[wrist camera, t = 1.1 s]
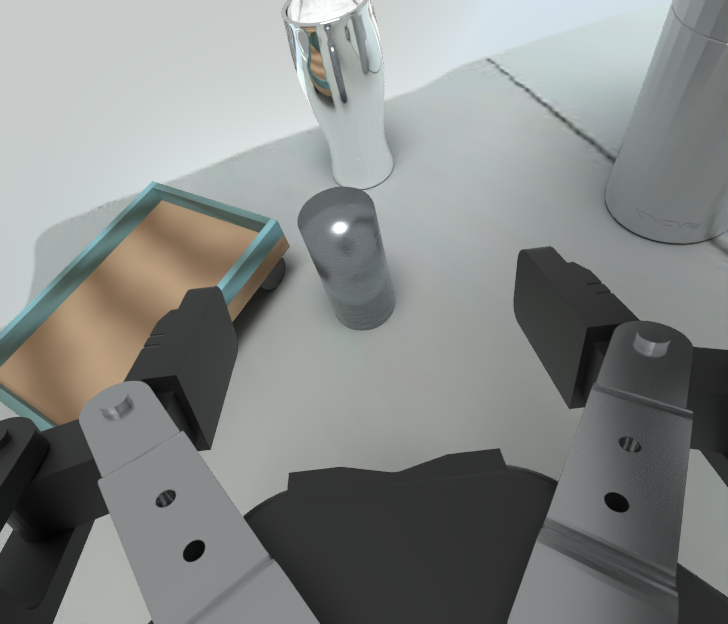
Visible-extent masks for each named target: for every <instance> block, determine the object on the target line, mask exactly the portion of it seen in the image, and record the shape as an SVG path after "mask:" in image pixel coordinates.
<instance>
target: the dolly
mask: <svg viewBox="0 0 728 624" xmlns="http://www.w3.org/2000/svg"><path fill="white" fill-rule="evenodd" d="M289 247H290V246H289V244H288V242H287V240H286V238H285V236H284V233H283V231H282V229H281V227H280V225H279V223H278V221H277V220H274V219H271V218H268V217H265V216H261V215H258V214H255V213H252V212H249V211H245V210H242V209H239V208H236V207H233V206H229V205H226V204H223V203H220V202H217V201H214V200H210V199H207V198H204V197H201V196H198V195H194V194H191V193H188V192H185V191H182V190H178V189H175V188H172V187H169V186H166V185H162V184H159V183H156V182H153V181H152V182H151V183H150V184H149V185H148V186H147V187H146V188H145V189H144V190H143V191H142V192H141V193H140V194H139V195H138V196H137V197H136V198H135V199H134V200H133V201H132V202H131V203H130V204H129V205H128V206H127V207H126V208H125V209H124V210H123V211H122V212H121V213H120V214H119V215H118V216H117V217H116V218H115V219H114V220H113V221H112V222H111V223H110V224H109V225H108V226H107V227H106V228H105V229H104V230H103V231H102V232H101V233H100V234H99V235H98V236H97V237H96V238H95V239H94V240H93V241H92V242H91V243H90V244H89V245H88V246H87V247H86V248H85V249H84V250H83V251H82V252H81V253H80V254H79V255H78V256H77V257H76V258H75V259H74V260H73V261H72V262H71V263H70V264H69V265H68V266H67V267H66V268H65V269H64V270H63V271H62V272H61V273H60V274H59V275H58V276H57V277H56V278H55V279H54V280H53V281H52V282H51V283H50V284H49V285H48V286H47V287H46V288H45V289H44V290H43V291H42V292H41V293H40V294H39V295H38V296H37V297H36V298H35V299H34V300H33V301H32V302H31V303H30V304H29V305H28V306H27V307H26V308H25V309H24V310H23V311H22V312H21V313H20V314H19V315H18V316H17V317H16V318H15V319H14V320H13V321H12V322H11V323H10V324H8V325H7V326H6V327H5V328H4V329H3V330H2V331H1V332H0V401H1V402H2V403H3V404H5V405H6V406H7V407H9V408H10V409H11V410H13V411H14V412H15V413H17V414H18V415H19V416H21V417H26V418H29V419H31V420H32V421H33V422H34V423H35V425H36V426H37V427H38V429H39V430H40V431H44V430H47V429H50V428H53V427H56V426H59V425H62V424H65V423H68V422H71V421H74V420H77V419H79V415H80V412H81V410H82V409H83V407H84V406H85V404H86V403H87V402H88V401H89V400H90V399H91V398H92V397H94V396H95V395H96V394H98V393H99V392H101V391H102V390H104V389H106V388H108V387H110V386H113V385H115V384H118V383H122V382H123V381H124V380H125V378H126V376H127V374H128V373H129V371H130V369H131V367H132V365H133V364H134V362H135V360H136V358H137V357H138V355H139V353H140V351H141V350H142V349H143V348H144V344H145V342H146V341H147V339H148V338H150V334H151V332H152V330H153V328H154V327H155V325H156V323H157V322H158V321H159V320H160V319H161V318H162V317H163V316H165V315H166V314H167V313H168V312H169V311H170V310H173V309H178V308H179V306H180V304H181V302H182V300H183V298H184V296H185V294H186V292H187V291H188V290H189V289H195V288H204V287H212V286H218V287H219V288H220V289H221V291H222V293H223V296H224V299H225V302H226V305H227V308H228V311H229V314H230V317H231V320H232V322H233V321H234V320H235V318H236V317H237V316H238V314H239V313H240V312H241V310H242V309H243V308H244V306H245V305H246V304H247V302H248V301H249V300H250V298H251V297H252V296H253V294H254V293H255V292H256V290H257V289H258V288H259V287H262V288H265V289H267V290H271V289H274V288H275V287H277V286H278V285H279V283H280V282H281V280H282V278H283V276H284V272H285V262H284V259H283V258H282V256H283V255H284V253H285V252H286V251H287V249H288V248H289Z"/></svg>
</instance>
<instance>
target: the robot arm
mask: <svg viewBox="0 0 728 624" xmlns="http://www.w3.org/2000/svg"><path fill="white" fill-rule="evenodd" d="M605 200H606V204H607V207H608V209H609V211H610V212H611V214H612V216H613V217H614V218H615V219H616V220H617V221H618V222H619V223H620V224H622V225H623V226H624V227H626V228H627V229H629V230H630V231H632V232H634V233H636V234H639V235H641V236H643V237H646V238H649V239H653V240H656V241H661V242H668V243H694V242H701V241H704V240H708V239H711V238H714V237H716V236H718V235H720V234H722V233H724V232H725V231H726V230H727V229H728V0H673V1H672V4H671V7H670V9H669V12H668V15H667V18H666V21H665V23H664V26H663V29H662V32H661V35H660V38H659V40H658V43H657V46H656V49H655V52H654V55H653V57H652V60H651V63H650V66H649V69H648V72H647V74H646V77H645V80H644V83H643V86H642V88H641V91H640V94H639V97H638V100H637V103H636V105H635V108H634V111H633V114H632V117H631V120H630V122H629V125H628V128H627V131H626V134H625V137H624V139H623V142H622V145H621V147H620V150H619V153H618V156H617V159H616V162H615V164H614V167H613V170H612V173H611V176H610V179H609V182H608V184H607V187H606V190H605ZM514 312H515V316H516V319H517V322H518V324H519V325H520V327H521V329H522V330H523V332H524V334H525V335H526V337H527V339H528V340H529V342H530V344H531V345H532V347H533V349H534V350H535V352H536V354H537V356H538V357H539V359H540V361H541V362H542V364H543V366H544V367H545V369H546V371H547V372H548V374H549V376H550V377H551V379H552V381H553V382H554V384H555V386H556V387H557V389H558V391H559V392H560V394H561V396H562V398H563V399H564V401H565V403H566V404H567V406H568V408H569V409H573V408H582V407H585V409H584V412H583V414H582V417H581V420H580V423H579V426H578V429H577V431H576V434H575V437H574V440H573V443H572V446H571V449H570V451H569V454H568V457H567V460H566V463H565V466H564V468H563V471H562V474H561V477H560V480H559V482H558V481H556V480H554V479H552V478H550V477H548V476H545V475H543V474H541V473H538V472H535V471H532V470H529V469H525V468H521V467H516V466H511V465H506V464H505V462H504V459H503V456H502V454H501V451H500V448H499V449H490V450H481V451H473V452H464V453H456V454H447V455H445V456H442V457H439V458H436V459H434V460H431V461H428V462H425V463H422V464H420V465H417V466H414V467H411V468H408V469H406V470H403V471H400V472H394V473H393V472H382V471H373V470H364V469H355V468H346V467H335V468H327V469H318V470H310V471H301V472H292V473H289V480H288V490H286V491H284V492H281V493H279V494H277V495H275V496H273V497H271V498H269V499H267V500H265V501H264V502H262V503H260V504H259V505H257V506H256V507H254V508H253V509H252V510H250V511H249V512H248V513H247V514H245V515H244V516H242V515H241V514H240V512H239V511H238V509H237V508H236V506H235V505H234V503H233V502H232V500H231V499H230V498H229V496H228V495H227V493H226V492H225V490H224V489H223V487H222V486H221V485H220V483H219V482H218V480H217V479H216V477H215V476H214V474H213V473H212V471H211V470H210V469H209V467H208V466H207V464H206V463H205V461H204V460H203V458H202V457H201V455H200V454H199V453H198V451H203V450H211V447H212V443H213V439H214V436H215V432H216V429H217V425H218V421H219V418H220V414H221V411H222V407H223V403H224V400H225V396H226V393H227V389H228V385H229V382H230V378H231V375H232V371H233V367H234V364H235V360H236V357H237V351H238V344H237V336H236V332H235V329H234V326H233V323H232V320H231V317H230V314H229V311H228V308H227V305H226V302H225V299H224V296H223V293H222V291H221V289H220V288H219V287H218V286H212V287H204V288H195V289H189V290H188V291H187V292H186V294H185V296H184V298H183V300H182V302H181V304H180V306H179V308H178V309H173V310H170V311H169V312H168V313H167V314H166V315H165V316H163V317H162V318H161V319H160V320H159V321H158V322H157V323H156V325H155V327H154V328H153V330H152V332H151V334H150V338H148V339H147V341H146V342H145V344H144V348H143V349H142V350H141V351H140V353H139V355H138V357H137V358H136V360H135V362H134V364H133V365H132V367H131V369H130V371H129V373H128V374H127V376H126V378H125V380H124V381H123V382H122V383H118V384H115V385H113V386H110V387H108V388H106V389H104V390H102V391H101V392H99V393H98V394H96V395H95V396H94V397H92V398H91V399H90V400H89V401H88V402H87V403H86V404H85V406H84V407H83V409H82V410H81V412H80V415H79V419H77V420H74V421H71V422H68V423H65V424H62V425H59V426H56V427H53V428H50V429H47V430H44V431H40V430H39V429H38V427H37V426H36V425H35V423H34V422H33V421H32V420H31V419H29V418H26V417H13V418H8V419H5V420H1V421H0V532H1V530H2V529H3V527H4V525H5V523H6V522H7V523H8V524H9V525H10V526H11V527H12V528H13V531H12V533H11V535H10V537H9V538H8V540H7V542H6V544H5V546H4V547H3V549H2V551H1V553H0V624H53V622H54V619H55V617H56V614H57V612H58V609H59V607H60V604H61V602H62V599H63V597H64V595H65V592H66V590H67V587H68V585H69V582H70V580H71V577H72V575H73V572H74V570H75V567H76V565H77V563H78V560H79V558H80V555H81V553H82V550H83V548H84V545H85V543H86V540H87V538H88V535H89V533H90V531H91V528H92V526H93V523H94V521H95V519H97V518H99V517H102V516H104V515H107V514H109V513H110V515H111V518H112V520H113V523H114V525H115V528H116V530H117V533H118V535H119V538H120V540H121V543H122V545H123V548H124V550H125V553H126V555H127V558H128V560H129V563H130V565H131V568H132V570H133V573H134V575H135V578H136V580H137V583H138V585H139V588H140V590H141V593H142V595H143V598H144V601H145V603H146V606H147V608H148V611H149V613H150V616H151V618H152V620H151V621H150V622H149V623H148V624H728V597H727V596H725V595H724V594H722V593H721V592H719V591H718V590H716V589H715V588H714V587H712V586H711V585H709V584H708V583H706V582H705V581H703V580H702V579H701V578H699V577H698V576H696V575H695V574H693V573H692V572H690V571H689V570H688V569H686V568H685V567H683V566H682V565H680V564H679V563H677V559H678V550H679V541H680V532H681V523H682V514H683V505H684V495H685V486H686V477H687V468H688V459H689V450H690V449H697V450H700V451H701V452H702V454H703V455H704V456H705V458H706V459H707V460H708V462H709V463H710V464H711V466H712V467H713V468H714V469H715V471H716V472H717V473H718V475H719V476H720V477H721V479H722V480H723V481H724V483H725V484H726V485H727V487H728V350H722V349H710V348H699V347H693V346H692V343H691V342H690V340H689V339H688V338H687V337H686V336H685V335H683V334H682V333H681V332H679V331H677V330H675V329H673V328H671V327H669V326H666V325H663V324H659V323H655V322H649V321H640V320H639V319H638V318H637V317H636V316H635V315H634V314H633V313H632V312H631V311H630V310H629V309H628V308H627V307H626V306H625V305H624V304H623V303H622V302H621V301H620V300H619V299H618V298H617V297H616V296H615V295H614V294H613V293H611V292H610V290H609V289H608V288H607V287H606V286H605V285H604V284H602V283H601V281H600V280H599V279H598V278H597V277H596V276H595V275H594V274H593V273H592V272H591V271H590V270H588V269H586V268H584V267H582V266H580V265H578V264H576V263H574V262H570V263H567V262H566V261H565V260H564V259H563V258H562V257H561V256H560V255H559V254H558V253H557V251H556V250H555V249H554V248H553V247H551V246H548V247H540V248H532V249H524V250H521V251H520V253H519V255H518V261H517V271H516V281H515V291H514Z"/></svg>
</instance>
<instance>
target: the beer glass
mask: <svg viewBox="0 0 728 624" xmlns="http://www.w3.org/2000/svg"><path fill="white" fill-rule="evenodd" d="M281 13H282V18H283V20H284V25H285V28H286V33H287V38H288V42H289V47H290V51H291V55H292V59H293V62H294V66H295V69H296V73H297V76H298V79H299V82H300V84H301V87H302V90H303V92H304V94H305V97H306V99H307V101H308V103H309V105H310V107H311V109H312V111H313V113H314V115H315V117H316V119H317V121H318V123H319V125H320V127H321V129H322V131H323V133H324V135H325V137H326V139H327V142H328V145H329V148H330V152H331V161H332V172H333V176H334V179H335V180H336V182H337V183H338V184H339V185H341V186H343V187H353V188H357V189H367V188H371V187H373V186H376V185H378V184H380V183H381V182H383V181H384V180H385V179H386V178H387V177H388V176H389V175H390V173H391V172H392V169H393V164H394V163H393V157H392V154H391V152H390V149H389V147H388V144H387V141H386V138H385V133H384V64H383V56H382V47H381V41H380V35H379V30H378V26H377V21H376V16H375V12H374V8H373V3H372V0H288V1H287V2H286V3H285V4H284V6H283V8H282V12H281Z"/></svg>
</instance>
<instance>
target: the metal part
mask: <svg viewBox="0 0 728 624" xmlns="http://www.w3.org/2000/svg"><path fill="white" fill-rule="evenodd" d="M298 227H299V230H300V232H301V235H302V237H303V239H304V242H305V244H306V246H307V248H308V251H309V253H310V255H311V258H312V260H313V262H314V264H315V267H316V269H317V271H318V274H319V276H320V278H321V280H322V283H323V285H324V287H325V290H326V292H327V294H328V296H329V299H330V301H331V303H332V306H333V308H334V310H335V312H336V315H337V317H338V319H339V320H340V321H341V323H343V324H344V325H345V326H347V327H349V328H351V329H354V330H369V329H373V328H375V327H378V326H380V325H381V324H383V323H384V322H385V321H386V320H387V319H388V318H389V317H390V316H391V314H392V312H393V310H394V306H395V298H394V293H393V289H392V284H391V280H390V275H389V271H388V266H387V261H386V257H385V252H384V248H383V243H382V239H381V234H380V230H379V225H378V221H377V216H376V211H375V207H374V203H373V201H372V199H371V198H370V196H369V195H368V194H367V193H365V192H364V191H362V190H360V189H357V188H353V187H335V188H330V189H327V190H324V191H322V192H320V193H318V194H316V195H315V196H313V197H312V198H311V199H309V200H308V201H307V202H306V203H305V205H304V206H303V207H302V209H301V211H300V213H299V216H298Z"/></svg>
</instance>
